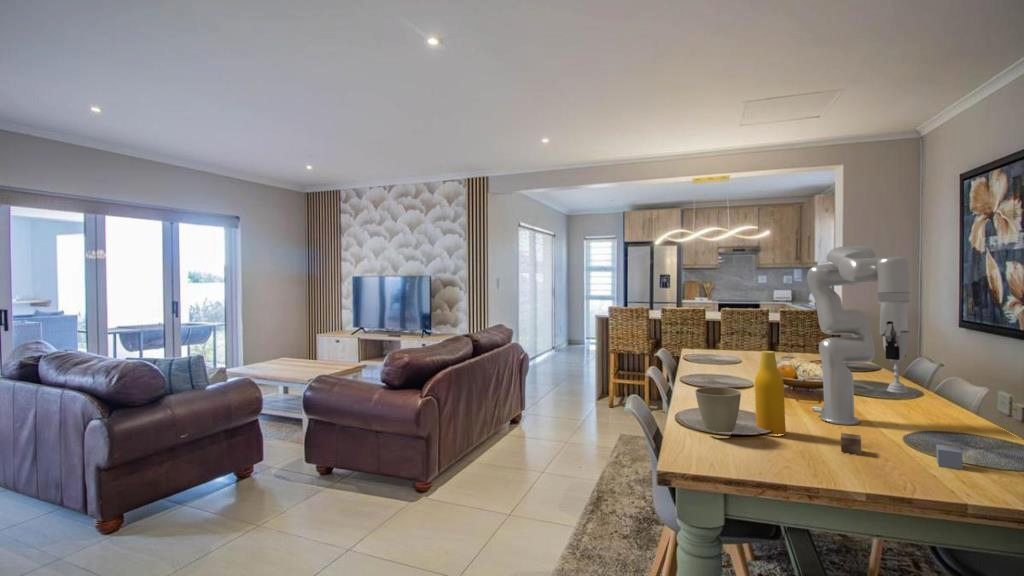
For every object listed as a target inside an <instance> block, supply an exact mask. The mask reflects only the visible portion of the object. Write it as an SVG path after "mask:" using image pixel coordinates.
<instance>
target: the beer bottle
mask: <svg viewBox="0 0 1024 576" xmlns="http://www.w3.org/2000/svg"><path fill="white" fill-rule="evenodd" d="M754 379H755V380H754V394H755V395H754V399H755V400H754V401H755V427H756V426H757V427H759V428H762V429H765V430H770V431H773V433H772V434H777V435H778V434H784V433H785V434H786V430H787V429H786V410H785V385H784V380H783V377H782V375H781V373H780V372H779V369H778V366H777V360H776V353H775V351H771V350H762V351H761V353H760V365H759V369H758V372H757V373H756V375H755V378H754Z"/></svg>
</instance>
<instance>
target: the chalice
mask: <svg viewBox="0 0 1024 576" xmlns="http://www.w3.org/2000/svg"><path fill="white" fill-rule="evenodd" d="M885 333H886V332H885ZM910 333H911V331H910V330H909V331H906V332H903V333H901V336H899V337H898V346H899V353H900V359H899V360H892V359H889V361H890V362H893V363H894V366H893V368H892V369H893V370H894V373H893V374H892V375H893V377H894V381H893V382H890V383H889V385H888V386H887V389H886V391H887V392H891V393H898V394H906V393H908V392H909V391H908V390H907V387H906V385H905V384H904V383H901V381H900V379H899V378H900V376H901V374H900V373H899V371H900V366H899V364H900V362H902V361H904V358H906V357H905V355H906V356H907V353H908V350H909V334H910ZM884 335H885V334H884ZM892 335H896V332H892ZM885 339H886V337H885V336H882V341H883V342H882V345H883V349H884V351H885V353H886V349H885V346H886V345H885V342H886V340H885ZM894 341H895V338H894Z"/></svg>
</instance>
